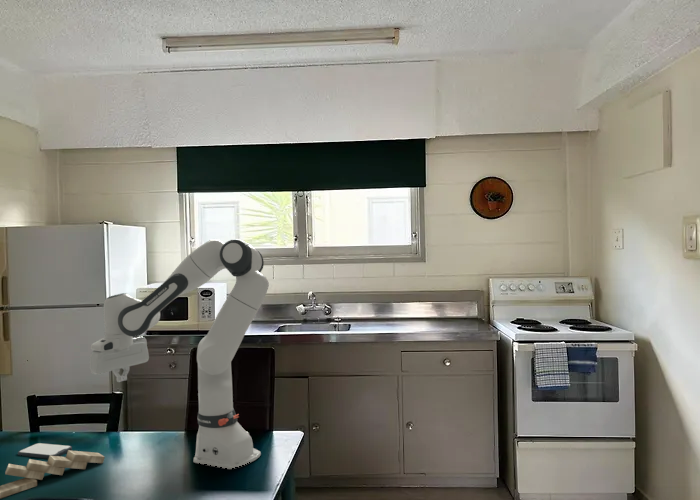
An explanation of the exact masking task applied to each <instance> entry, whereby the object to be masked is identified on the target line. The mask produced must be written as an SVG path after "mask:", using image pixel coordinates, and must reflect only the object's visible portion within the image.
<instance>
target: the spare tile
mask: <svg viewBox="0 0 700 500" xmlns="http://www.w3.org/2000/svg"><path fill="white" fill-rule="evenodd" d="M37 486H38V479H33V478H26V477H22V478H20V479H17V480H14V481H11V482H7V483H5V484H2V485H0V499H4V498H7V497H9V496H11V495H14V494H19V493H20V492H23V491H26V490H29V489H31V488H32V489H33V488H35V487H37Z"/></svg>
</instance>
